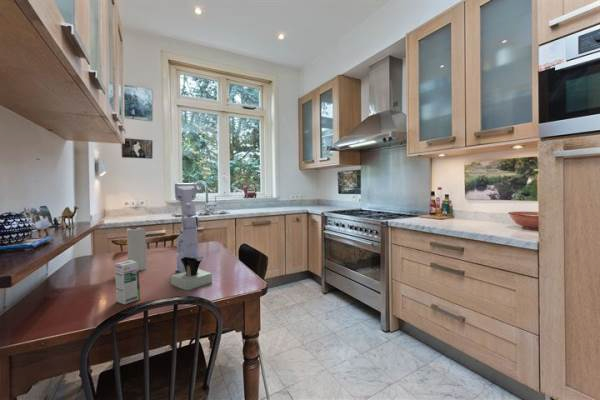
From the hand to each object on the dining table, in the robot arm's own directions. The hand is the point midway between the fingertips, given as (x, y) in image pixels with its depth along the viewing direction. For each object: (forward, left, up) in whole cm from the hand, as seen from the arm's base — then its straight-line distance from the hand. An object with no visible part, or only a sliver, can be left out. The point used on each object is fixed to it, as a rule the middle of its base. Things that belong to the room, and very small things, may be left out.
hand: (191, 274), depth 119 cm
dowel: (0, 0, -4) cm, 4 cm away
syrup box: (-3, -24, -4) cm, 25 cm away
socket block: (0, 0, -4) cm, 4 cm away
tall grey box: (-41, -6, -4) cm, 42 cm away
